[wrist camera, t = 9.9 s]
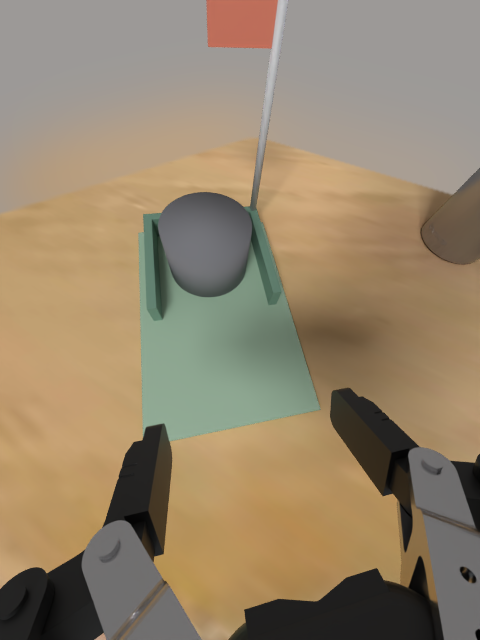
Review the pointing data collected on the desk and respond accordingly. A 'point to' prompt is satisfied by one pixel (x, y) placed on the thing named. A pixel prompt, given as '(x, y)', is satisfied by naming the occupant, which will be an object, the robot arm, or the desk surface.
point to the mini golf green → (223, 298)
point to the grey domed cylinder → (206, 242)
